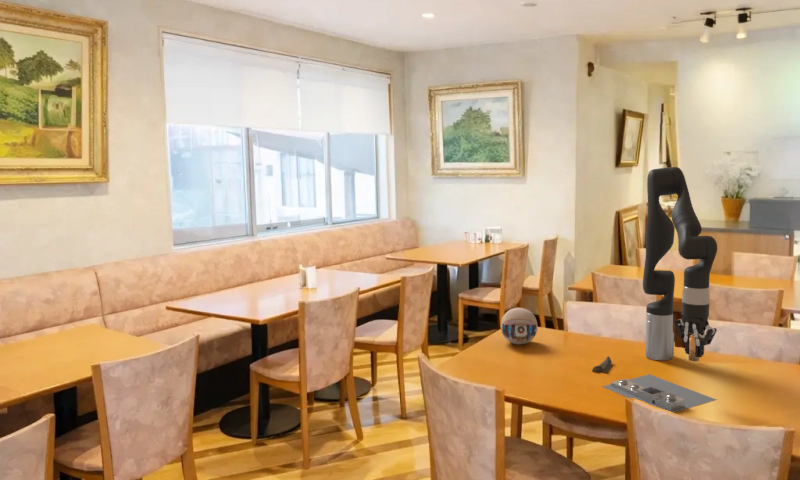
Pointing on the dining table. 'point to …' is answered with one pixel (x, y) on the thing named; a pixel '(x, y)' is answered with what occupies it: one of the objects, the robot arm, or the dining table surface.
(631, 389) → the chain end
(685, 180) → the robot arm
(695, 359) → the pin
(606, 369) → the dark grey rock
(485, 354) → the dining table surface
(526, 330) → the ornament
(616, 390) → the grey flat rectangular plate
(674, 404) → the chain end
